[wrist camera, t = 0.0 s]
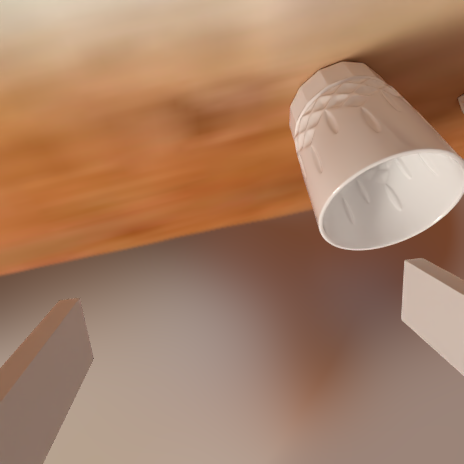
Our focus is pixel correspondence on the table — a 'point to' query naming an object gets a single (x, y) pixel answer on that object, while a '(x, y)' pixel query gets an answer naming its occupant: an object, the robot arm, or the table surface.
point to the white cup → (370, 159)
